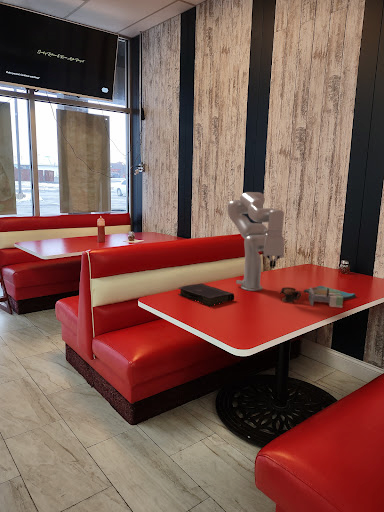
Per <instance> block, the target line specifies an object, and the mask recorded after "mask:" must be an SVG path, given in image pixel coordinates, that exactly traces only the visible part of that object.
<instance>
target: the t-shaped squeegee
mask: <svg viewBox="0 0 384 512" xmlns="http://www.w3.org/2000/svg"><path fill="white" fill-rule="evenodd" d="M312 288H313V287H309V288H308V289H309V293H308V300H309V304H310V306H314V302H320V303H328V302H329V301H330V296H331V295H329V288H330V287H328V288H327V295H319V294H314V292H313V289H312Z"/></svg>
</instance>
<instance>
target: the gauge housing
mask: <svg viewBox="0 0 384 512" xmlns="http://www.w3.org/2000/svg"><path fill="white" fill-rule="evenodd" d="M329 295H331V296H330V301H329V302H327V303H328V305H329V307H331V308H341V309H342V308H343V306H344V305H343V303H344V301H343V297H342V296H341V294H340V293H329Z"/></svg>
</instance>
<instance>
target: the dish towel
mask: <svg viewBox="0 0 384 512" xmlns="http://www.w3.org/2000/svg"><path fill="white" fill-rule="evenodd" d="M311 288H312V289H313V292H314V294H319V295H327V288H329V293H340V294H341V296H342V297H343V302H344V301H347V300H351V299H355V298H357V296H356V295H357V294H356V293H349V292H346V291H342V290H340V289H339V290H338V289H334V288H332V287H328V286H324V285H318V286H315V287H311ZM303 292H304V293H306V292H307V294H309V288H306V289H304V290H303Z"/></svg>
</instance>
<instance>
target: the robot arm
mask: <svg viewBox="0 0 384 512" xmlns="http://www.w3.org/2000/svg"><path fill="white" fill-rule="evenodd" d="M265 200H266V198H265V195H264V194H263V193H262V192H259V191H258V192H257V191H256V192H255V191H254V192H253V191H246V192H243V193H241V194H240V197H239V199H234V200H230V201H229V202H228V204H227V207H226V208H227V214H228V218H229V219H230V220H231V221H232V223H233V224H234V225H235V226H236V227H235V228H237V231H238V232H239V234H240V235H241V237H242V238H243V239H244V241H243V244H244V269H243V271H244V272H243V273H244V274H243V279H242V280H240V279H238V280H236V281H235V283H236V284H237V285H240V288H241V289H242V290H245V291H250V292H251V291H252V292H256V291H257V292H258V291H262V290H263V286H262V285H261V276H262V275H261V273H262V257H261V255H260V253H259V252H263V254H262V256H263V257H265V258H267V259H268V260H269V267H270V269H275V268H276V267H277V265H276V264H277V261H278V260H279V259H283V258H284V257H285V256H284V255H285V254H284V252H285V240H284V238H285V237H284V236H283V229H284V214H285V213H284V211H283V210H281V209H276V208H270V207H269V208H268V207H267V208H265V207H264V204H265ZM247 214H248V217H249V218H250V219H249V218H248V217H247V216H246V215H247ZM250 220H252V221H253V222H251V221H250ZM263 223H267V226H266V225H265V224H263ZM272 256H274V257H272ZM273 258H274V259H273Z"/></svg>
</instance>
